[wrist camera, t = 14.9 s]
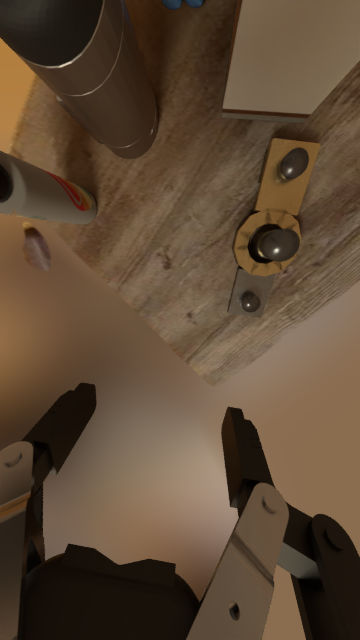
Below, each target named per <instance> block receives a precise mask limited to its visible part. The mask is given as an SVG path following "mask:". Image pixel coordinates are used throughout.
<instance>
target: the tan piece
mask: <svg viewBox="0 0 360 640" xmlns="http://www.w3.org/2000/svg"><path fill="white" fill-rule="evenodd" d="M320 145H321V144H319V143H311V142H303V141H294V140H286V139H278V138H273V139H272V140H271V141H270V144H269V147H268V148H267V150H266V152H265V157H264V161H263V165H262V169H261V173H260V177H259V181H258V183H260V185H259V189H258V193H257V197H256V201H255V205H254V209H253V211H256V212H258V213H256V214H253V215H251V216H249V217H247V218H246V219H245V220H244V222H243V223H242V224H241V225H240V227H239V228H238V229H237V230H236V232H235V236H234V241H233V245H232V250H233V254H234V257H235V260H236V263H237V264H238V265H239V266H241V267H242V268H243V269H242V268H237V272H236V276H235V281H234V285H233V289H232V293H231V297H230V301H229V305H228V310H227V312H228V313H231V314H238V315H245V316H252V317H258V318H261V316H262V313H263V310H264V307H265V303H266V300H267V297H268V294H269V291H270V288H271V285H272V282H273V279H274V276H275V274H274V273H277V272H279V271H282V270H283V269H284V268H285V267H286V266H287V265H288V264H289V263H290V262H291V261H292V260H293V259H294V258H295V256H296V254H295V255H294V256H293V257H292V258H290V259H289V260H287V261H283V262H278V261H274V260H267V261H264V262H255V261H254V260H253V259H252V258H251V257H250V256H249V252H248V248H247V246H248V242H249V238H250V236H251V234H252V233H253V232H254V231H255V230H256V229H257V227H260V226H262V225H264V224H266V225H273V226H274V227H275V228H276V229H277V230H279V229H292V230H294V231H295V232H296V233H297V234H298V236H299V239H300V242H301V235H300V229H299V223H298V221H297V220H296V219H295V218H294V217H293V216H297V215H298V212H299V209H300V206H301V203H302V200H303V197H304V194H305V191H306V188H307V185H308V182H309V179H310V176H311V173H312V170H313V167H314V164H315V161H316V158H317V155H318V152H319V148H320ZM296 253H297V252H296Z"/></svg>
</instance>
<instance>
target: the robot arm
mask: <svg viewBox="0 0 360 640" xmlns="http://www.w3.org/2000/svg"><path fill="white" fill-rule="evenodd" d="M0 38H1V39H2V40H3V41H4V42H5V43H6V44H7V45H8V46H9V47H10V48H11V49H12V50H13V51H14V52H15V53H16V54H17V55H18V56H19V57H20V58H21V59H22V60H23V61H24V62H25V63H26V64H27V65H28V66H29V67H30V68H31V69H32V70H33V71H34V72H35V73H36V74H37V75H38V76H39V78H41V79H42V80H43V81H44V82H45V83H46V84H47V85H48V86H49V88H50V89H51V90H52V91H53V92H54V93H55V96H56V100H57V102H58V103H59V104H60V105H61V106H62V107H63V108H64V109H65V110H66V111H67V112H68V113H69V114H70V115H71V116H72V117H73V118H74V119H75V120H76V121H77V122H78V123H79V124H80V125H81V126H82V127H83V128H84V129H85V130H86V131H87V132H88V133H89V134H90V135H91V136H92V137H93V138H94V139H95V140H96V141H98V142H99V143H103V144H105V145H106V146H107V147H108V148H109V149H110V150H111V151H112V152H113V153H115V154H116V155H118V156H120V157H122V158H127V159H132V158H137V157H139V156H142V155H143V154H144V153H145V152H147V151H148V149H149V148H150V147H151V145H152V143H153V142H154V140H155V137H156V133H157V128H158V111H157V105H156V102H155V98H154V94H153V92H152V89H151V86H150V82H149V79H148V76H147V72H146V69H145V66H144V63H143V59H142V56H141V53H140V50H139V46H138V43H137V40H136V37H135V33H134V30H133V27H132V24H131V20H130V17H129V14H128V11H127V7H126V4H125V1H124V0H0ZM95 408H96V389H95V385H94V384H88V383H80V384H79V385H78V386H77V388H76V389H75V390H74V391H72V390H69V391H68V392H66V393H65V394H63V395H62V396H60V397H59V398H58V400H57V401H56V402H55V403H54V404H53V406H52V407H51V408H50V409H49V410H48V412H47V413H46V414H44V416H43V417H42V418H41V419H40V420H39V421H38V423H37V424H36V425H35V426H34V427H33V428H32V429H31V431H30V432H29V433H28V434H27V435H26V436H25V437H24V438H23V439H22V440H21V441H20V442H17V443H14V444H12V445H10V446H8V447H6V448H5V449H3V450H2V451H1V452H0V640H262V636H263V632H264V628H265V624H266V620H267V616H268V612H269V608H270V604H271V601H272V596H273V591H274V581H273V576H274V572H275V568H276V564H277V565H279V566H280V567H282V568H283V569H285V570H287V571H288V572H289V573H290V575H291V579H292V583H293V587H294V591H295V595H296V600H297V604H298V608H299V612H300V616H301V620H302V625H303V629H304V632H305V637H306V640H360V557H359V555H358V553H357V550H356V548H355V546H354V544H353V542H352V541H351V539H350V537H349V535H348V534H347V533H346V531H345V530H344V529H343V528H342V527H341V526H340V525H339V524H338V523H337V522H336V521H335V520H334V519H332V518H331V517H328V516H327V515H324V514H317V515H315V516H314V517H313V518H312V517H310V516H308V515H307V514H305V513H303V512H301V511H299V510H297V509H296V508H294V507H292V506H291V505H289V504H288V503H287V502H286V501H285V500H284V498H283V497H282V495H281V494H280V493H279V491H278V490H276V488H275V486H274V484H273V481H272V478H271V474H270V471H269V468H268V465H267V462H266V458H265V455H264V452H263V450H262V445H261V442H260V439H259V436H258V432H257V429H256V428H255V426H254V425H253V424H252V422H251V421H250V420H245V419H244V415H243V412H242V410H241V409H239V408H233V407H228V408H227V410H226V414H225V417H224V420H223V424H222V432H221V433H222V443H223V451H224V460H225V468H226V477H227V485H228V492H229V500H230V507H234V508H237V509H238V516H239V519H238V521H237V523H236V525H235V528H234V530H233V532H232V534H231V536H230V538H229V540H228V542H227V545H226V547H225V549H224V551H223V553H222V556H221V558H220V560H219V562H218V564H217V566H216V568H215V570H214V573H213V575H212V577H211V579H210V581H209V583H208V585H207V587H206V590H205V592H204V594H203V596H202V598H201V600H200V602H199V600H198V598H197V596H196V595H195V593H194V592H193V590H192V589H191V587H190V586H189V585H188V584H187V583H186V581H185V580H184V579H183V578H181V577H180V576H179V575H178V574H176V573H175V566H176V564H174V563H168V562H163V561H158V560H152V559H146V560H141V561H137V562H132V563H128V564H124V565H118V564H116V563H114V562H113V561H112V560H110V559H109V558H107V557H106V556H104V555H103V554H101V553H100V552H99V551H97V550H96V549H94V548H89V547H83V546H78V545H73V544H68V546H67V548H66V550H65V553H62V554H59V555H56V556H54V557H52V558H50V559H48V560H46V561H45V544H44V537H43V482H44V480H45V478H46V477H47V475H48V474H54V475H57V474H58V472H59V470H60V469H61V467H62V465H63V464H64V462H65V460H66V459H67V457H68V455H69V454H70V452H71V450H72V448H73V447H74V445H75V444H76V442H77V440H78V439H79V437H80V435H81V433H82V432H83V430H84V429H85V427H86V425H87V423H88V422H89V420H90V418H91V417H92V415H93V413H94V411H95Z"/></svg>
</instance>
